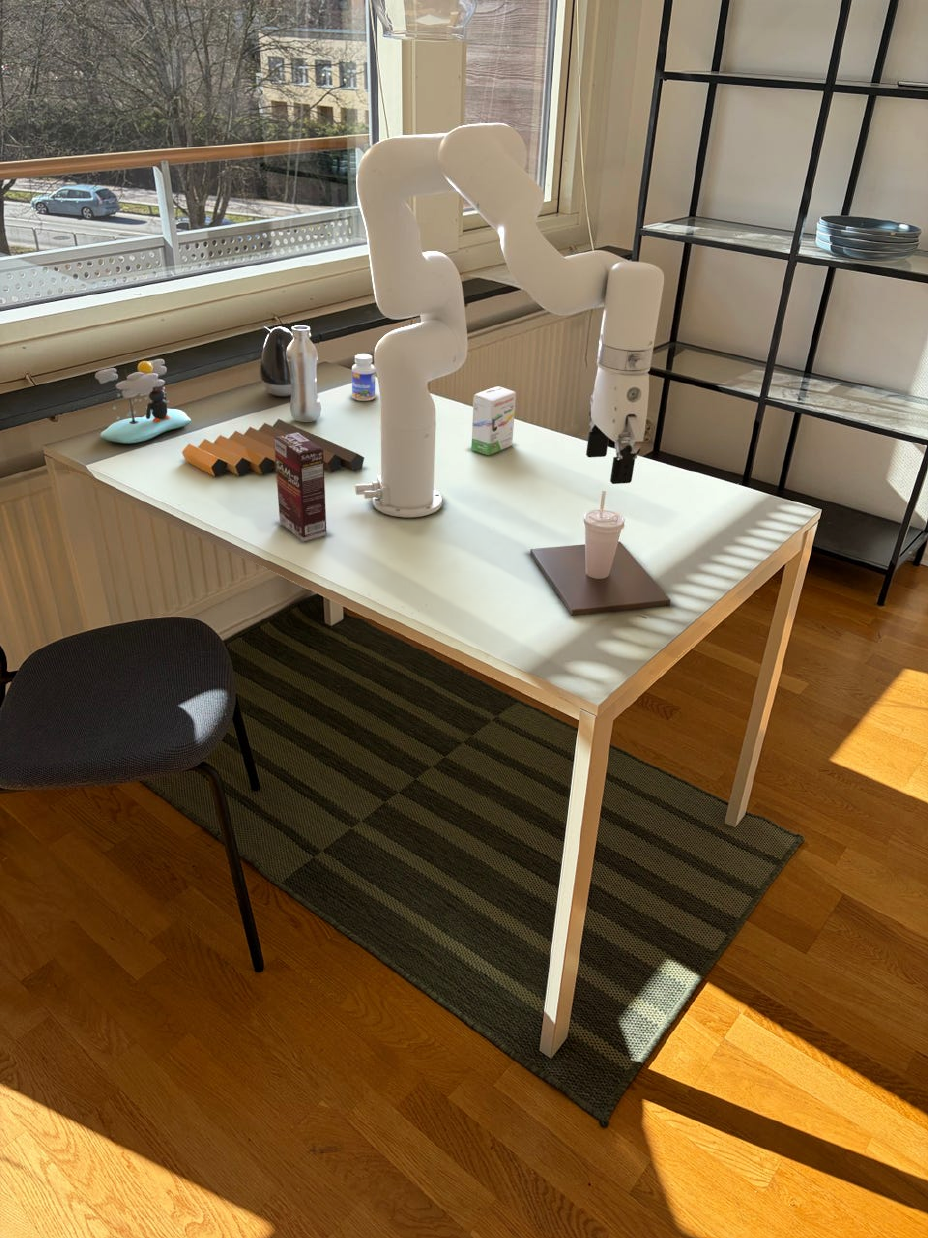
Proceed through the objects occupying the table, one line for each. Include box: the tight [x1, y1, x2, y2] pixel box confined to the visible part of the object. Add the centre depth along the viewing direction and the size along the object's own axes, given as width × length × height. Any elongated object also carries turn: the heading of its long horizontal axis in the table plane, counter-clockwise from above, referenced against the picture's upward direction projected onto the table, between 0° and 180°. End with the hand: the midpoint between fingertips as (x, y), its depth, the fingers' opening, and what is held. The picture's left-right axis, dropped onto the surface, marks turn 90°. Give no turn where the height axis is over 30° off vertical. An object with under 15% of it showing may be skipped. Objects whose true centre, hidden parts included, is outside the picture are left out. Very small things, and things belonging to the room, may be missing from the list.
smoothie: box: [582, 490, 626, 579], centre depth 149 cm, size 6×6×14 cm
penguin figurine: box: [94, 358, 193, 444], centre depth 195 cm, size 20×11×15 cm, turn 144°
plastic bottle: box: [286, 325, 322, 423], centre depth 204 cm, size 6×7×20 cm
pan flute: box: [181, 418, 365, 477], centre depth 186 cm, size 25×3×25 cm
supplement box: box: [274, 432, 328, 543], centre depth 159 cm, size 9×5×16 cm, turn 37°
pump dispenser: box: [259, 326, 293, 397], centre depth 220 cm, size 10×10×15 cm
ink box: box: [470, 385, 517, 456], centre depth 196 cm, size 8×5×12 cm, turn 141°
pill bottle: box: [351, 353, 376, 402], centre depth 220 cm, size 5×5×10 cm
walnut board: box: [529, 540, 671, 616], centre depth 153 cm, size 16×20×1 cm
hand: (607, 469), depth 143 cm, fingers open, 9 cm apart
